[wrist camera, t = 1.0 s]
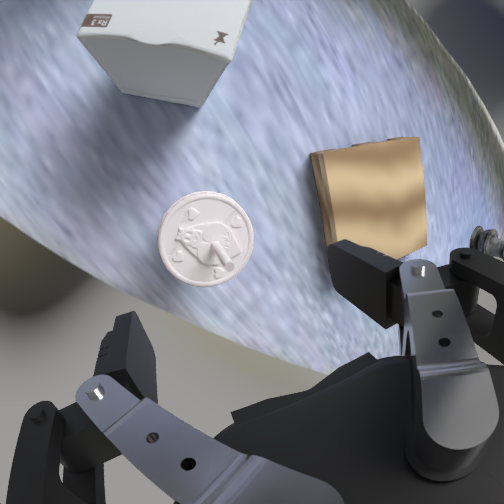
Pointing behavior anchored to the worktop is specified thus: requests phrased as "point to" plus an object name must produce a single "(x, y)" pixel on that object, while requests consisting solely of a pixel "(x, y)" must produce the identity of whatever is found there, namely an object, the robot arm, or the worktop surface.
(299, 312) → the worktop surface
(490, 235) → the salt shaker
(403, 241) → the tan wavy panel
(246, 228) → the smoothie
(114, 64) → the skincare box
